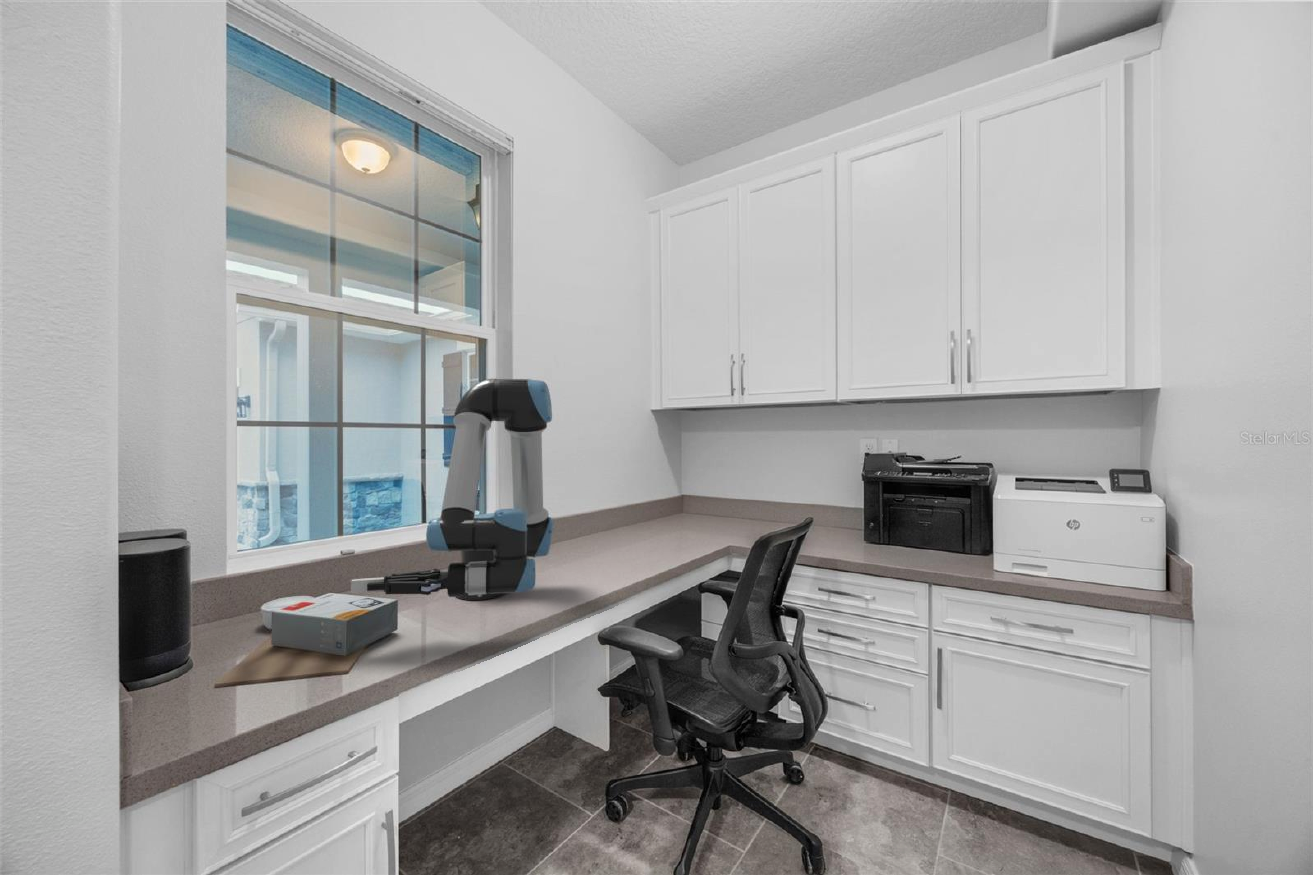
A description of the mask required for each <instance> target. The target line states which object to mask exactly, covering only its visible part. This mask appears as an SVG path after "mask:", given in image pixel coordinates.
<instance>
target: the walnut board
mask: <svg viewBox="0 0 1313 875" xmlns="http://www.w3.org/2000/svg"><path fill="white" fill-rule="evenodd" d="M366 648H367V645H366V646H364V647H363V648H361V649H359V650H357V651H354V652H352V653H350V654H349V655H346V656H344V655H337V654H330V653H323V652H316V651H309V650H302V649H295V648H288V647H281V646H274V645H271V635H270V636H269V637H268V638H267V639H266V640H264V641H263V642H262V643H261V644H260V645H258V646H257V647H256V648H255V649H254V650H253V651H251V652H250V653H249V654H248V655H247V656H245V657H244V659H242V660H240V662H239V663H237V664H236V665H235V666H234V667H232V668H231V670H229V671H228V672H227V673H226V674H224V676H222V677H221V678H220V679H218V681H216V682H215V683H214V688H221V687H230V686H241V685H247V684H248V685H249V684H260V683H268V682H269V683H270V682H279V681H286V680H297V679H298V680H299V679H305V678H314V677H323V676H324V677H325V676H333V675H343V674H349V673H350V671H351V670H352V668H353V667H354V665H355V664H356V662H357V660H358V659H359V658H360V656H361V655H362V653H363V652H364V650H365V649H366Z"/></svg>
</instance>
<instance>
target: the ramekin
mask: <svg viewBox="0 0 1313 875" xmlns="http://www.w3.org/2000/svg"><path fill="white" fill-rule="evenodd" d="M313 598H315V597H313V596H310V595H295V596H286V597H280V598H277V599H274V600H270V601H268V602H266V603H263V604H262V605H261V606H260V613H261V614H262V620H263V624H264V626H265V628H267V629H268V630H271V629H272V612H274V611H277V610H280V609H283V608H286V607H289V606H292V605H295V604H298V603H301V602H305V601H308V600H311V599H313Z"/></svg>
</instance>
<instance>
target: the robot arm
mask: <svg viewBox="0 0 1313 875" xmlns="http://www.w3.org/2000/svg"><path fill="white" fill-rule="evenodd" d="M550 393H551V392H550V389H549V386H548V384H547V383H546V382H545V381H543V380H539V379H531V378H526V379H525V378H524V379H523V378H520V379H519V378H513V379H512V378H511V379H510V378H508V379H507V378H488V379H484V380H480V381H479V382H477V383H475V384H474V385H473V386H471V387H470V388H469V389H467V391H466V392H465V393H464V394H463V396H462V397H461V399H460V400H458V404H456V405H457V406H456V408H455V410H454V415H453V421H452V423H453V425H454V426H455V433H454V437H453V444H452V450H451V455H450V461H449V467H448V470H447V472H448V473H447V477H446V478H447V479H446V484H445V490H444V494H443V501H442V506H441V514H440V517H437V518H432V519H430V521H429V522H428V525H427V527H426V532H425V536H426V539H425V540H426V544H427V547H428V549H429V550H431V551H434V552H448V553H451V552H461V558H460V559H461V562H451V563H449V565H448V568H447V571H441V570H439V569H438V568H433V569H428V570H419V571H417V570H416V571H410V572H409V571H408V572H401V573H392V574H390V575H385V576H383V577H382V576H381V577H370V578H369V577H368V578H366V577H365V578H353V579H352V580H350V594H364V593H378V592H380V593H381V592H384V594H385V595H424V596H429V595H431V594H432V593H438V592H439V591H440V590H447V596H448V597H450V598H455V597H456V598H457V599H460V600H465V601H481V600H482V601H483V600H490V599H491V600H492V599H496V598H500V597H501V596H504V595H506V594H509V593H510V594H511V593H512V594H513V593H515V594H516V593H521V592H523V593H524V592H528V591H533V589H534V588H535V586H536V575H537V574H536V561H535V559H533V558H537V557H538V558H539V557H546V556H547V555H549V553H550V550H551V543H552V537H553V527H554V521H555V519H554V518H553V517H551V516H549V511H548V510H547V509H546V508H545V507H544V489H543V488H544V481H543V480H544V479H543V445H542V443H543V441H542V440H543V439H542V436H543V435H542V434H543V432H544V431H545V430H547V427H548V424H549V423H550V422H552V420H553V413H552V412H553V410H552V408H553V407H552V399H551V395H550ZM492 422H503V423H504V426H503V427H504V430H505V431H507V433H509V435H510V454H511V457H510V458H511V476H512V478H511V479H512V480H511V481H512V498H513V499H512V500H513V501H512V502H513V503H512V504H513V506H512V507H513V508H500V509H497V510H495V511H494V512H492V513H491V512H490V513H484V514H478V515H475V514H476V508H477V501H478V494H479V486H480V478H481V471H482V466H483V457H484V450H485V443H486V435H487V432H488V431H489V430H490V429H491V427H492Z"/></svg>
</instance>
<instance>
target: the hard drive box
mask: <svg viewBox="0 0 1313 875" xmlns="http://www.w3.org/2000/svg"><path fill="white" fill-rule="evenodd" d="M398 617H399V600H398V599H396V598H395V599H394V598H384V597H376V596H375V597H373V596H364V595H363V596H362V595H354V594H353V595H352V594H344V593H335V592H333V593H332V592H328V593H326V594H322V595H320V596H316V597H314V598H313V599H311V600H308V601H305V602H301V603H298V604H295V605H292V606H289V607H286V608H283V609H280V610H277V611H274V612H272V630H271V629H270V630H271V635H270V636H271V645H274V646H281V647H288V648H295V649H302V650H309V651H316V652H323V653H330V654H337V655H344V656H346V655H349V654H350V653H352V652H354V651H357V650H359V649H361V648H363V647H364V646H366V647H367V646H369V645H370V644H372V643H374V642H376V641H378V640H380V639H382V638H384V637H387V636H388V635H390V634H391V633H394V632H396V631H398V629H399V628H398V626H399V623H398V619H399V618H398Z"/></svg>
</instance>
